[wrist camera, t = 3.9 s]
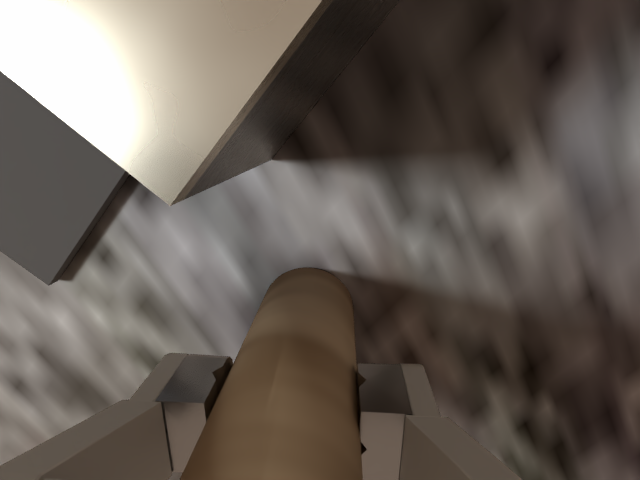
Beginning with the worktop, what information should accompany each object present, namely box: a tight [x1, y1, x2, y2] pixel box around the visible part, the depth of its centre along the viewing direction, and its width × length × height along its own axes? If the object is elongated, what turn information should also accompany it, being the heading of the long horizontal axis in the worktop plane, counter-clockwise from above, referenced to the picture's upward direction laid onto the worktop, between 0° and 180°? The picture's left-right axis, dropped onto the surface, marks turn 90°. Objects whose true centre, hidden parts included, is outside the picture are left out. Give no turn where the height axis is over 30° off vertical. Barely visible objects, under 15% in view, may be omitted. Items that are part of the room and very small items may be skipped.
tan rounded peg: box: [180, 268, 363, 480], centre depth 8 cm, size 3×3×8 cm
